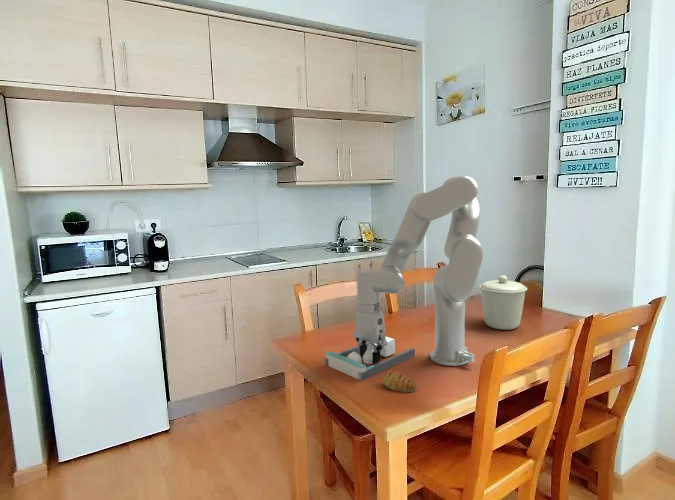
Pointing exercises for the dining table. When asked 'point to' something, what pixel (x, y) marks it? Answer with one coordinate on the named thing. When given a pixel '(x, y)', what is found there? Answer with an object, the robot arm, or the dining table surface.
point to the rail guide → (360, 370)
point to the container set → (367, 356)
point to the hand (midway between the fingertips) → (370, 359)
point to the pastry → (399, 382)
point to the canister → (502, 303)
